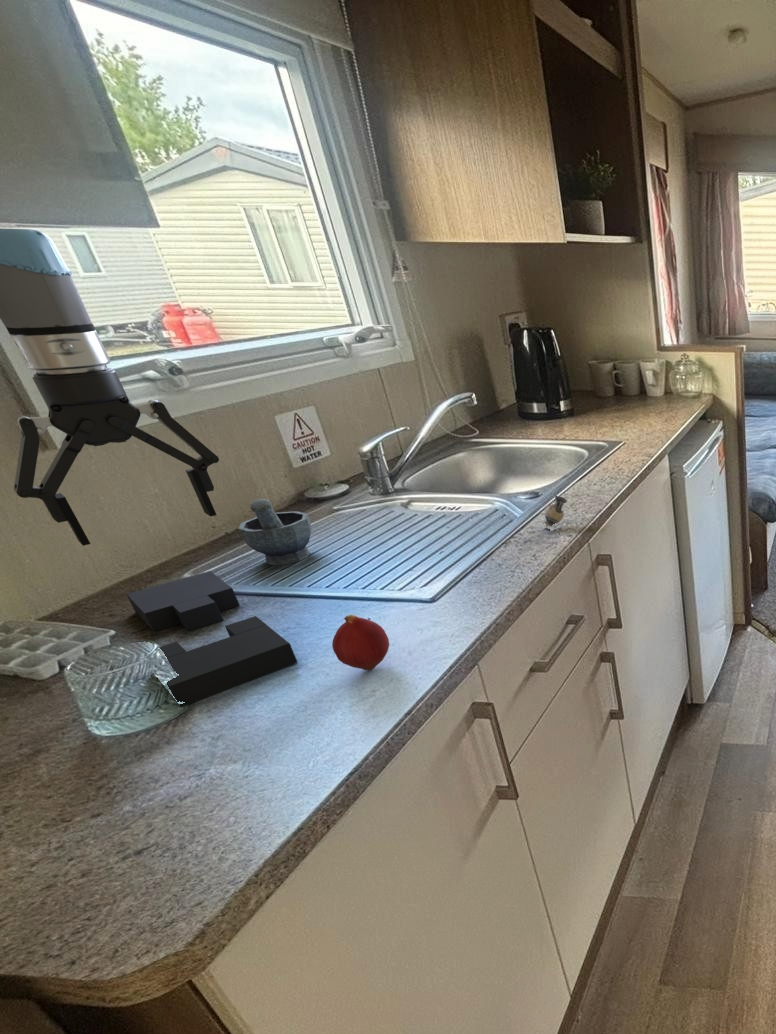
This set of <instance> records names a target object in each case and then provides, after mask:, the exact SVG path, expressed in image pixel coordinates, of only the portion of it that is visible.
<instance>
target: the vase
mask: <svg viewBox="0 0 776 1034" xmlns="http://www.w3.org/2000/svg"><path fill="white" fill-rule="evenodd" d="M554 499H555V502H554V503H553V504H549V505H548V506H547V507H546V508H545V511H544V517H545V521H544V522H543V523H542V524H544V523H545V524H546V526H552V525H553V524H554V525H556V524H558V523H560V522H562V520H563V518H564V516H565V512H564V511H565V510H564V509H563V506H564V504H566V503H567V502H568V499H567V498H566V497H565V498H564V497H563V496H558V495H555V496H554ZM541 503H542V502H541ZM537 516H540V515H537ZM555 523H556V524H555ZM551 532H553V531H551ZM551 532H550V533H551Z"/></svg>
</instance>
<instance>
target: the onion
mask: <svg viewBox="0 0 776 1034" xmlns="http://www.w3.org/2000/svg"><path fill="white" fill-rule="evenodd" d="M343 619H344V623H342V624H341V625H340V626H339V627H338V629H337V630H336V632H335V634H334V636H333V638H332V643H331V644H332V645H331V646H332V650H333V651H332V652H333V653H334V654H335V656H336V658H337V659H338V661H339V662H341V663H342V664H344V665H346V666H348V667H351V668H356V669H361V670H363V671H372V670H373V669H375V668H376V667H377V666H378V665H379V664H380V663H381V662H382V661H383V660H384V659H385V657H386V656H387V654H388V651H389V648H390V639H389V637H388V635H387V633H386V631H385V630H384V628H383V627H382V626H381V625H380V624H378V623H377V622H375V621H373V620H371V619H367V618H364V617H359V616H357V615H356V614H355V615H354V614H347V615H346V616H345V617H343Z"/></svg>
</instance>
